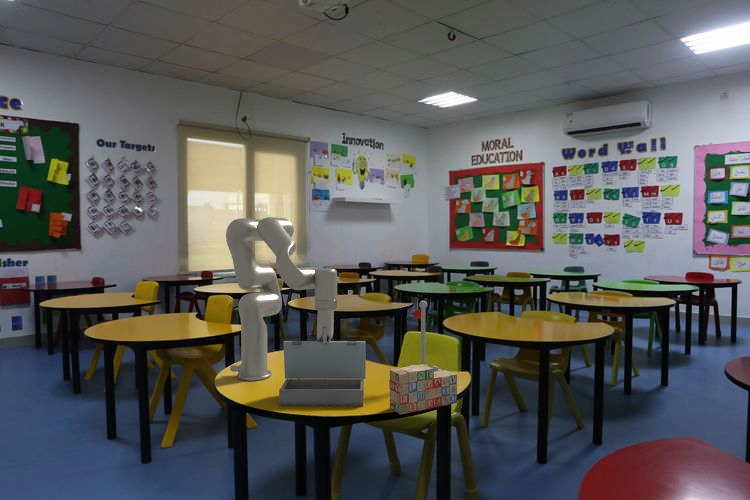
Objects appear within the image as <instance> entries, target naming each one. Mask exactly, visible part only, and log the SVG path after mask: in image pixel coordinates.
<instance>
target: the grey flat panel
mask: <svg viewBox="0 0 750 500" xmlns="http://www.w3.org/2000/svg"><path fill="white" fill-rule="evenodd" d="M366 362H367V361H366V340H331V341H327V344H323V341H322V340H283V363H284V365H283V366H284V379H285V380H286V379H364V380H365V379H366V374H367V373H366V372H367V370H366V369H367V368H366V364H367V363H366Z"/></svg>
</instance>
